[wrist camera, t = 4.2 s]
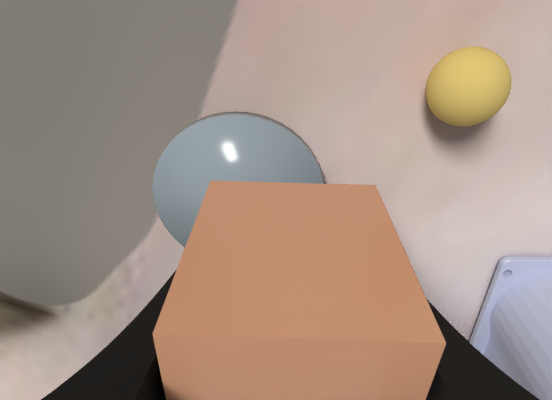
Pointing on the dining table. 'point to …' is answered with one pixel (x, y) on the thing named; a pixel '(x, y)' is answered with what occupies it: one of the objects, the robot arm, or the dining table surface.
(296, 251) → the peach matte cube
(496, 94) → the ball
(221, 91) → the dining table surface
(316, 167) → the saucer
